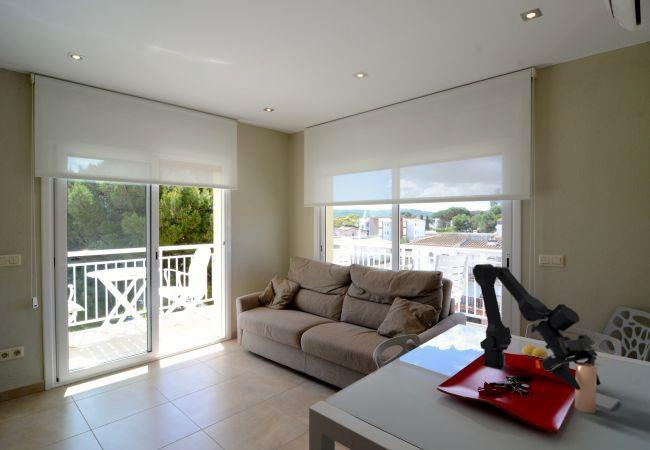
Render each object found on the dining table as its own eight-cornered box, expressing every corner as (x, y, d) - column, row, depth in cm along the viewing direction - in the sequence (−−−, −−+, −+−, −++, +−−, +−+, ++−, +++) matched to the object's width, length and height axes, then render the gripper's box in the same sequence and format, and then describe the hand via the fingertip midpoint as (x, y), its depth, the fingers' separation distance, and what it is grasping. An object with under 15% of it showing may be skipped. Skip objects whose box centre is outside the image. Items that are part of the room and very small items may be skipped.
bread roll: (543, 362, 142) (544, 352, 142) (519, 355, 149) (520, 345, 149) (550, 357, 147) (550, 347, 147) (527, 350, 154) (527, 341, 154)
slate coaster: (574, 398, 112) (574, 396, 112) (584, 390, 117) (584, 388, 117) (609, 411, 105) (609, 408, 104) (618, 402, 110) (618, 399, 110)
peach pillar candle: (574, 409, 105) (575, 366, 105) (574, 402, 109) (576, 361, 109) (595, 415, 102) (597, 370, 102) (595, 408, 106) (596, 365, 106)
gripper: (551, 328, 106) (590, 380, 96) (591, 323, 113) (631, 371, 103) (527, 346, 113) (560, 396, 103) (566, 339, 120) (601, 386, 110)
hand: (589, 387), depth 105 cm, fingers open, 9 cm apart
